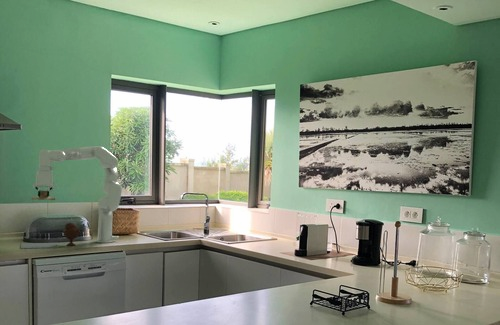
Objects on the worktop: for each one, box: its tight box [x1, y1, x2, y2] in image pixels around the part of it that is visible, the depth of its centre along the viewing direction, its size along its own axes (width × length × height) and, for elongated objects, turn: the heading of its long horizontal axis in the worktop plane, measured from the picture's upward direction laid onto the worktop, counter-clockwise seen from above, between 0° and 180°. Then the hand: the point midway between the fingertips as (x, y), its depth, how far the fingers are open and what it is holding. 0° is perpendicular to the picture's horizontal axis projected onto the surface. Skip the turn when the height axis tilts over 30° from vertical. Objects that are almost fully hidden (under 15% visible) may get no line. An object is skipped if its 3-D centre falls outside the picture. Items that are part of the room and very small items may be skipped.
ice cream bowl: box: [62, 222, 81, 247], centre depth 329 cm, size 11×11×15 cm
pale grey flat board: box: [20, 242, 60, 250], centre depth 322 cm, size 22×18×1 cm
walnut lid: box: [30, 189, 56, 201], centre depth 322 cm, size 14×14×5 cm
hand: (43, 197), depth 322 cm, fingers closed on walnut lid, 4 cm apart
